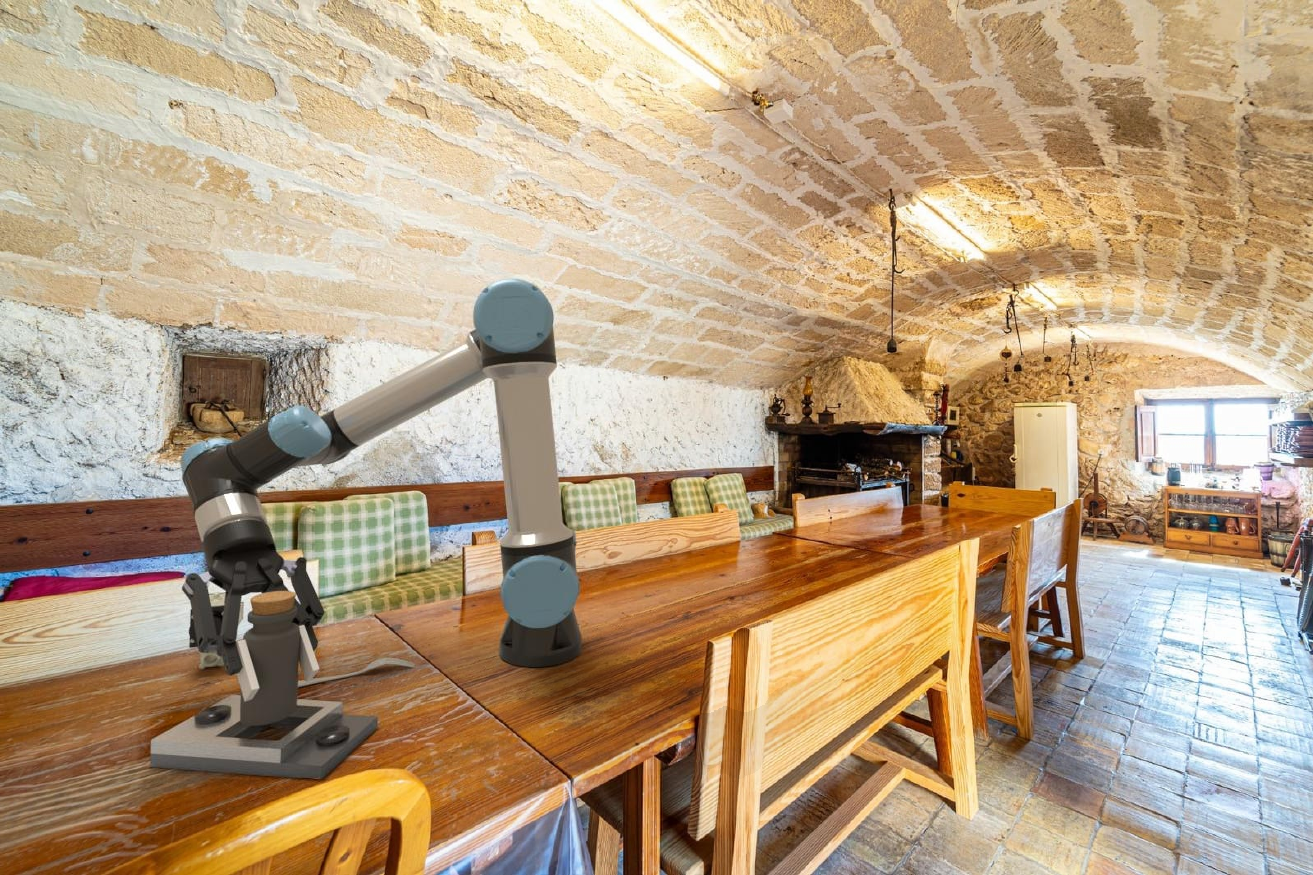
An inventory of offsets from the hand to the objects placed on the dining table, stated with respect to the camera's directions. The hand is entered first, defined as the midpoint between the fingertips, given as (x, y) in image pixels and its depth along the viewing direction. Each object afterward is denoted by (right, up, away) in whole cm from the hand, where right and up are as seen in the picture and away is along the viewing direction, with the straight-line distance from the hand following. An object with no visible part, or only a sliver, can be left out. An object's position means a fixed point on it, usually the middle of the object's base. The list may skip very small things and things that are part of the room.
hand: (283, 684), depth 65 cm
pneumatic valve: (-29, -8, +25) cm, 39 cm away
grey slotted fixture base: (-3, -9, +2) cm, 9 cm away
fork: (-4, -9, +22) cm, 24 cm away
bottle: (-3, -5, +2) cm, 6 cm away
